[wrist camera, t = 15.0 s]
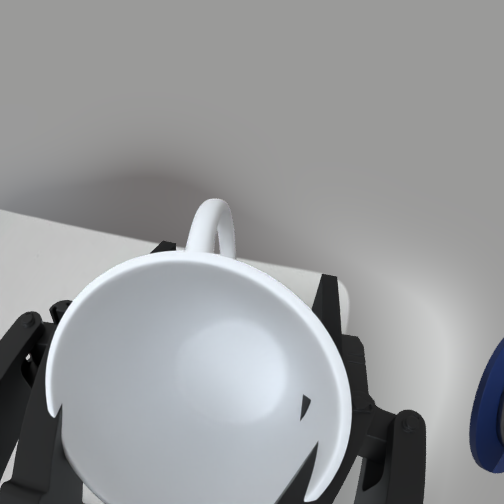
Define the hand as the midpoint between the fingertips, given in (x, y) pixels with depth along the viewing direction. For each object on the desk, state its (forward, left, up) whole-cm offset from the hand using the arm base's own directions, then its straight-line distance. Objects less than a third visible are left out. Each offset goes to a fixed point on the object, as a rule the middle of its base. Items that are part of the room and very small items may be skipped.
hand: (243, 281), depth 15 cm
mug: (-1, +3, -4) cm, 5 cm away
